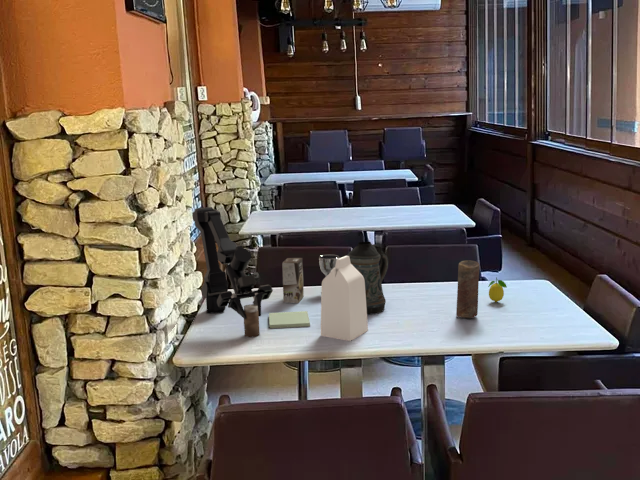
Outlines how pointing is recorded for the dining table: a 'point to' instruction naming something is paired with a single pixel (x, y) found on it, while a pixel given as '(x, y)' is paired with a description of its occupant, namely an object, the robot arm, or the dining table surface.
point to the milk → (343, 302)
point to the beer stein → (371, 273)
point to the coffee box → (292, 280)
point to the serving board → (289, 319)
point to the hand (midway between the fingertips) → (252, 317)
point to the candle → (467, 289)
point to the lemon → (496, 290)
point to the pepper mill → (251, 320)
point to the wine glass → (327, 263)
